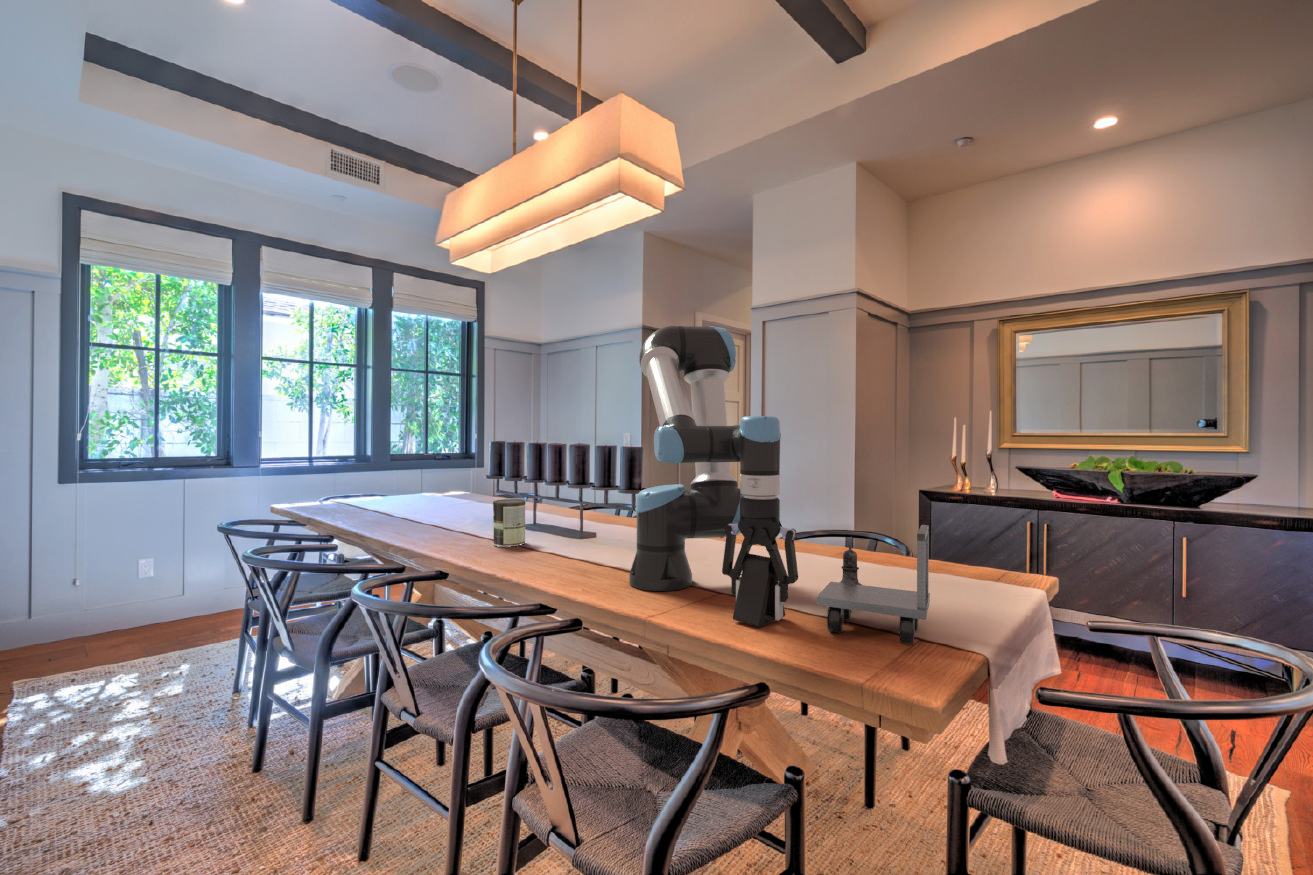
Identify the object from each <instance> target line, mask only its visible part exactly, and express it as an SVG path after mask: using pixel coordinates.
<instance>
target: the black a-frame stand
mask: <svg viewBox="0 0 1313 875" xmlns="http://www.w3.org/2000/svg"><path fill="white" fill-rule="evenodd" d="M742 565H743V569H742V572H741V574H742V575H740V577H741V580H740V585H739V590H738V595H737V600H736V599H735V606H734V610H733V616H732V620H734V621H737V622H740V623H744V624H746V625H751V626H754V627H757V628H761V627H763V626H766V625H768V624H770V623H772V622H775V621H776V620H775V585H776V584H778V583H779V581H778V578H777V575H776V573H775V570H774V567H773V564H772V561H771V558H770V556H764V555H759V554H753V553H749V554H748V555H746V557H745V559H744V561H743V564H742ZM785 617H786V611H785V606H784V604H783V617H782V618H785Z"/></svg>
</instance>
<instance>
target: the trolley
mask: <svg viewBox="0 0 1313 875" xmlns="http://www.w3.org/2000/svg"><path fill="white" fill-rule="evenodd" d="M929 530H930V527H929V524H921V525H920V527H919V529H918V531H917V533H916V591H915V590H906V589H897V588H892V587H891V588H890V587H882V586H871V585H865V584H864V585H863V584H862V585H857V584H848V583H839V581H830V582H829V583H827V585H826V586H825V587H824V588H823V589H822V590H821V591H820V592H819V594H817V596H816V606H822V607H828V609H827V623H826V624H827V630H828V632H832V633H836V634H837V633H838V634H842V633H843V628H844V624H845V621H850V619H851V616H852V611H859V612H867V613H872V614H881V615H889V616H896V617H899V618H900V619H899V633H898V634H899V642H900V644H901V643H902V644H907V645H908V644H909V645H914V643H915V634H916V633H915V632H916V631H918V629H919V628H918V627H919V626H918V625H919V620H924V621H926V620H927V616H928V612H929V607H930V603H931V594H930V593H931V592H929V587H930V586H929V573H930V572H929V567H930V564H929V563H930V562H929V561H930V560H929V555H930V554H929V552H930V551H929V550H930V549H929V546H930V544H929V541H930V538H929V536H930V534H929V532H930V531H929Z"/></svg>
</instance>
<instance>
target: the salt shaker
mask: <svg viewBox="0 0 1313 875" xmlns="http://www.w3.org/2000/svg"><path fill="white" fill-rule="evenodd" d="M841 569H842V578H841V581H840V582H839V581H838V582H839V583H848V584H857V585H863V584H861V583H860V582H859V579H858V570H860V568H859V567H858V554H857V552H856V551H855V550H852V546H849V547H848V550H845V551H844V552H843V554H842V566H841Z"/></svg>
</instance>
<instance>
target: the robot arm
mask: <svg viewBox="0 0 1313 875" xmlns="http://www.w3.org/2000/svg"><path fill="white" fill-rule="evenodd" d="M736 357H737V350H736V345H735V340H734V336H733V335H732V334H731V332H730V331H729V330H728V329H726V328H724V327H719V326H718V327H716V326H713V325H709V326H695V325H694V326H693V325H692V326H690V325H689V326H688V325H666V326H664V327H661V328H659V329H657V330H656V331H654V332H653V333H651V334H650V335H649V336H648V337H647V338H646V339H645V341H644V343H643V345H642V347H641V349H640V351H639V361H638V362H639V365H640V369H641V372H642V374H643V375H644V376H645V377H646V378H647V382H648V384H649V389H650V391H651V392H650V393H651V396H652V400H653V404H654V408H655V412H656V416H657V419H658V423H659V426H657V427H656V429H655V431H654V435H653V448H654V450H653V451H654V456H655V458H656V460H657V461H658V462H660V463H670V464H671V463H672V464H688V463H689V464H690V463H691V464H692V463H693V464H695V478H694V479H693V480H692V481H691V482H690V490H689V489H688V490H687V489H686V487H685V485H684V484H681V483H679V484H663V485H657V486H652V487H648V488H645V489H642V490H641V491H639V492H638V494H637V495H636V506H635V508H636V509H635V513H636V552H635V556H634V558H633V562H632V564H631V568H630V571H629V581H628V582H629V585H630V586H631V587H633V588H636V589H638V590H643V591H651V592H671V591H678V590H683V589H687V588H689V587H691V586H692V584H693V572H692V569H691V566H690V564H689V560H688V557H687V553H686V547H685V546H686V544H685V543H686V540H687V539H711V538H713V539H714V538H720V539H724V538H725V543H724V552H723V560H722V570H721V572H722V574H723V575H725V576H728V577H729V578H730V579H731V590H730V591H731V592H730V593H731V595H733V596H735V601H736V600H737V595H738V590H739V585H740V580H741V575H742V569H743V565H742V564H743V561H744V559H745V557H746V555H748V554H750V551H751V549H752V547H753V546H756V545H759V546H762V547H765V550H766V551H767V553H768V555H769V556H768V557H770V558H771V561H772V564H773V567H774V570H775V573H776V575H777V578H778V582H779V583H778V584H776V585H775V621H780V620H781V619H782V618H784V617H783V605H784V603H786V602H787V601H788V599H789V585H792V584H795V582H796V583H797V581H798V580H799V571H798V561H797V554H796V543H795V539H796V535H797V530H796V529H795V528H788V527H784V526H783V525H782V523H781V520H780V518H781V517H780V515H781V514H780V513H781V512H780V510H781V508H780V506H781V500H780V498H779V497H777V496H779V495H780V494H781V479H780V478H781V475H780V474H781V473H780V472H781V471H780V469H781V468H780V465H781V462H780V460H781V438H782V434H781V427H780V425H781V422H780V419H779V418H778V417H777V416H773V415H754V416H753V415H751V416H750V415H747V416H745V415H744V416H743V417H741V419H740V422H739V423H740V424H734V425H728V422H727V421H728V420H727V407H726V392H725V391H726V390H725V382H726V381H727V380H728V379H729V377H730V373H731V372H733V371H734V368H735V367H736V364H737V363H736V360H737V359H736ZM680 372H682V373H683V379H684V381H685V382H686V383H687V384H689V386H690V398H691V404H690V402H689V398H688V395H687V393H686V390H685V387H684V384H683V381H682V378H681V374H680ZM731 463H739V465H740V466H739V467H740V468H739V484H738V480H737V479H736V478H735V477H734V476H732V473H731ZM740 534H742V536H743V541H742V543H741V547H740V550H739V552H738V555H737V557H736V561H735V562H734V557H735V550H736V544H737V543H736V541H737V536H738V535H740ZM780 534H781V536H782V538H781V539H783V540H784V552H785V561H786V568H787V570H786V568H785V564H784V562H783V558H782V557H781V553H780V551H779V545H778V541H777V540H776V538H777V537H778V536H779V535H780Z"/></svg>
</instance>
